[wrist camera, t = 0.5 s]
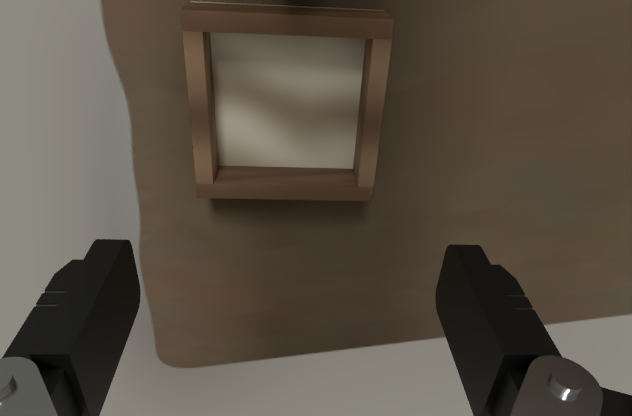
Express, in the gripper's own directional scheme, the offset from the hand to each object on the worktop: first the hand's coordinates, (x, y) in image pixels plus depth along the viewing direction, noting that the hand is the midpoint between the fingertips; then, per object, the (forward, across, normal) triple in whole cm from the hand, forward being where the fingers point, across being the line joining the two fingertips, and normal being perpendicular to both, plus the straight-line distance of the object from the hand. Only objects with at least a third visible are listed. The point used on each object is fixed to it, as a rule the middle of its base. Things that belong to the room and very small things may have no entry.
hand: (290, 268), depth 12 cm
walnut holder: (+24, 0, +4) cm, 25 cm away
